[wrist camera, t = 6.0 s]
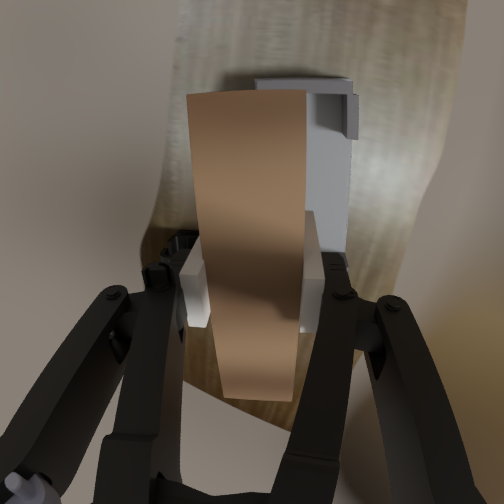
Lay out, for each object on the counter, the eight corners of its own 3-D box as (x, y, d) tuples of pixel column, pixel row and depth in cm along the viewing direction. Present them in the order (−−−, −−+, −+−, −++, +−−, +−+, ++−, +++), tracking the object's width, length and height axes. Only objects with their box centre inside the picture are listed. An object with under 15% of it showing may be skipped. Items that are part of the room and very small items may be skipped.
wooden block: (220, 91, 15) (186, 94, 10) (299, 89, 14) (306, 89, 9) (237, 330, 23) (224, 397, 17) (293, 332, 22) (291, 401, 17)
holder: (255, 78, 27) (250, 78, 24) (349, 79, 26) (358, 79, 22) (266, 285, 39) (264, 306, 36) (339, 285, 38) (343, 307, 35)
